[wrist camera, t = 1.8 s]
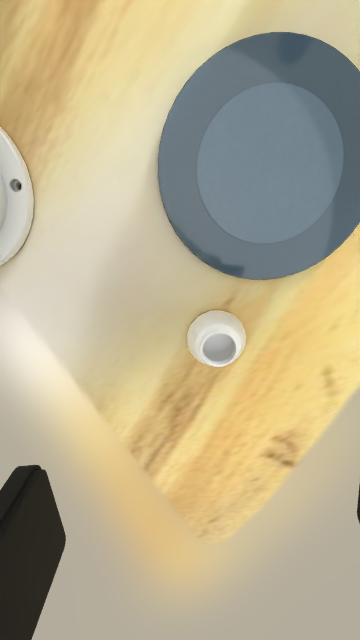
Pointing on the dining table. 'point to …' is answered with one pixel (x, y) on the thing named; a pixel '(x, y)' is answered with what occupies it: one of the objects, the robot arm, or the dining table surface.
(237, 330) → the lidless jar
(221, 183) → the plate
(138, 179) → the dining table surface
